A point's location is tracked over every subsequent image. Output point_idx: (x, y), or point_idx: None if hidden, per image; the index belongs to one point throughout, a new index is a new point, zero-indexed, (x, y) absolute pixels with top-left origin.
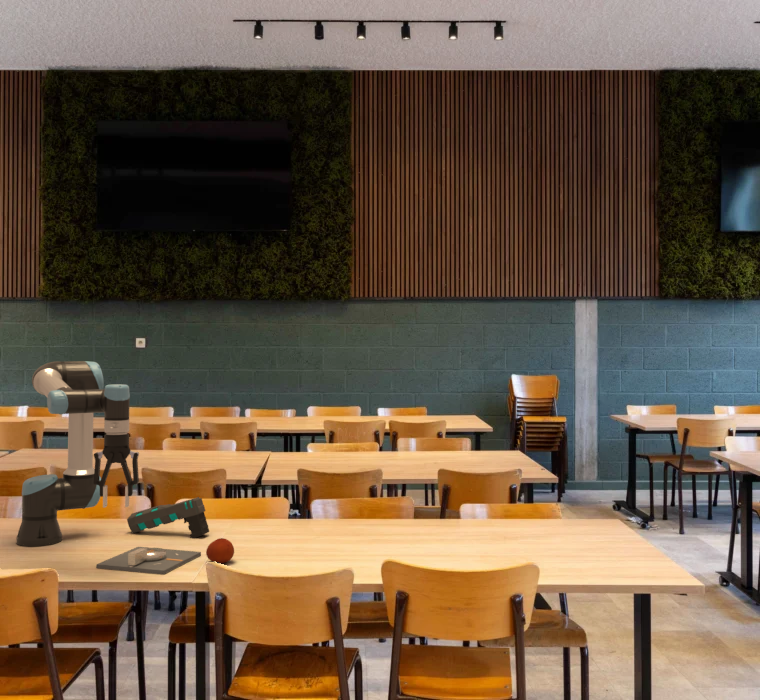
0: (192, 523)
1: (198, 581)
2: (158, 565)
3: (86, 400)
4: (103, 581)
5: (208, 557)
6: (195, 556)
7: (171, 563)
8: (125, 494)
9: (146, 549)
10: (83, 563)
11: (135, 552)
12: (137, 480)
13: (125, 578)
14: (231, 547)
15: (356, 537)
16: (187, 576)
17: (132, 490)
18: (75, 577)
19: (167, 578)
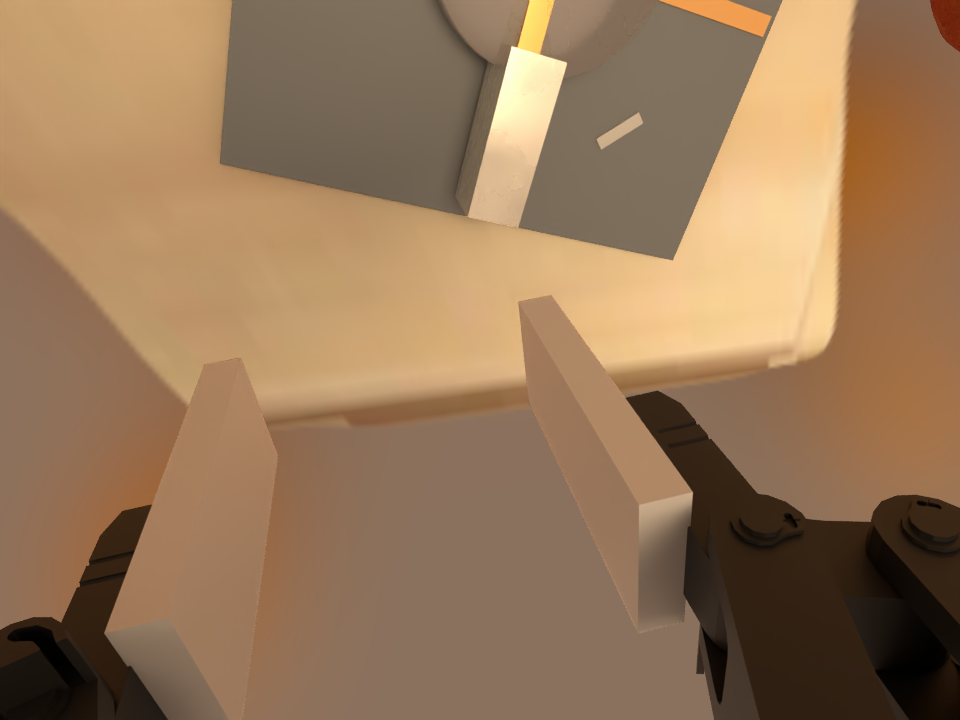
0: None
1: (818, 338)
2: (630, 157)
3: None
4: (396, 395)
5: (935, 17)
6: None
7: (701, 102)
8: (586, 515)
9: (563, 71)
10: (41, 27)
11: (511, 190)
12: (956, 673)
13: (486, 338)
14: None
15: None
16: (775, 271)
17: (709, 455)
18: (211, 355)
19: (686, 313)
